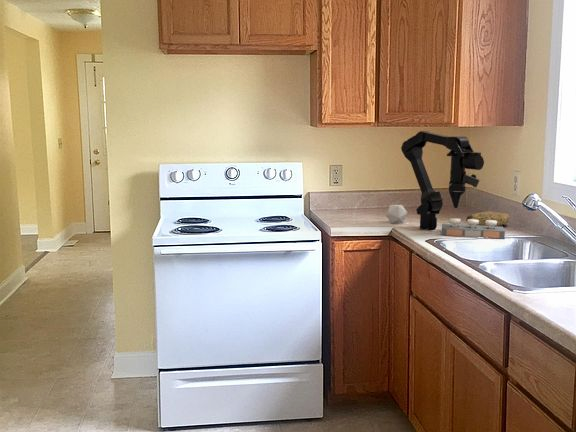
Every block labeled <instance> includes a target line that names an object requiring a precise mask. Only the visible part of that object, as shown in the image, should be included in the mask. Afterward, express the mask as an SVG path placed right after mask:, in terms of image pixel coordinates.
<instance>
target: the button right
mask: <svg viewBox="0 0 576 432" xmlns="http://www.w3.org/2000/svg"><path fill="white" fill-rule="evenodd" d="M485 225H488V229H493V228H494V226H495V225H497V221H495V220H486V221H485Z"/></svg>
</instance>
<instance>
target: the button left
mask: <svg viewBox="0 0 576 432" xmlns="http://www.w3.org/2000/svg"><path fill="white" fill-rule="evenodd" d="M461 223H462V222H461V218H456V217H455V218H453V217H452V218H449V221H448V224H452V227H457V225H461Z"/></svg>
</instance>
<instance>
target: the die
mask: <svg viewBox="0 0 576 432" xmlns="http://www.w3.org/2000/svg"><path fill="white" fill-rule="evenodd" d="M407 216H408V211H407V210H406V208H405V207H404V206H403V204H389V206H388V209H387V211H386V214H385V217H386V218H387V219H388V221H389V223H390V224H393V225H394V224H395V223H403V224H404V222H405V220H406V217H407ZM395 225H396V224H395Z"/></svg>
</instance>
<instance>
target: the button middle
mask: <svg viewBox="0 0 576 432" xmlns="http://www.w3.org/2000/svg"><path fill="white" fill-rule="evenodd" d="M469 224H470V228H475V225H477V224H479V220H476V219H468V220H467V221H466V225H469Z"/></svg>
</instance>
